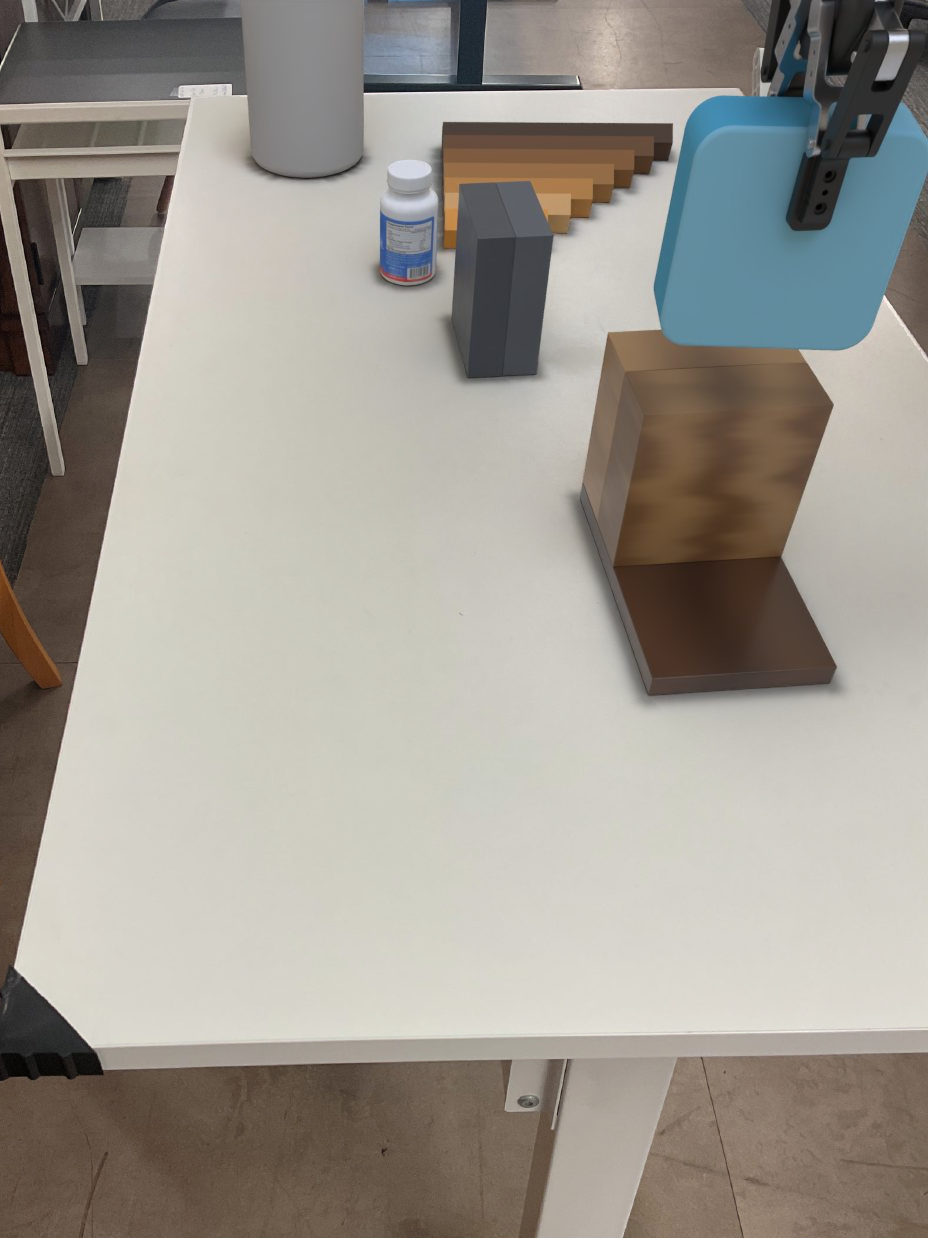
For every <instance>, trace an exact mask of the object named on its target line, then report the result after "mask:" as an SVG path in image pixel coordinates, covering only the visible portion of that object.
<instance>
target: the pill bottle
mask: <svg viewBox="0 0 928 1238" xmlns="http://www.w3.org/2000/svg"><path fill="white" fill-rule="evenodd" d="M432 171H433V169H432V166H431V165H430V164H429V163H427V162H425V161H424V160H423V161H422V160H418V159H401V160H396V161H394V162H392V163H391V164H389V165H388V167H387V173H386V174H387V175H386V183H387V187H388V188H386V189H385V190H384V191H383V193H382V194H381V196H380V198H379V199H380V200H379V270H380V274H381V276H382V277H383V278H384V279H385V280H386V281H388V282H390V283H393V284H395V285H399V286H416V285H420V284H424V283H427V282H429V281H430V280H431V279H432V278H433V277H434V276H435V274H436V271H437V254H438V253H437V252H438V251H437V250H438V228H439V226H438V225H439V197H438V194H437V193H436V191H435V190H434V189H432V188H431V187H432V183H433V181H432V179H433V178H432V176H433V172H432Z"/></svg>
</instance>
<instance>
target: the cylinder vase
mask: <svg viewBox="0 0 928 1238" xmlns="http://www.w3.org/2000/svg"><path fill="white" fill-rule="evenodd" d="M239 1H240V12H241V13H240V17H241V28H242V29H241V31H242V43H243V44H242V45H243V56H244V57H243V58H244V69H245V83H246V84H245V85H246V99H247V113H248V125H249V127H248V128H249V139H250V151H251V152H250V153H251V156H252V158H253V160H254V162H255V163H256V164H258V165H259V166H260V168H263V169H264V170H266V171H267V172H270V173H272V174H275V175H279V176H284V177H289V178H303V179H306V178H308V179H309V178H321V177H327V176H332V175H336V174H338V173H342V172H345V171H346V170H349V169H351V168H352V167H354V166H355V165H356V164H357V163H359V161H360V160H361V158H362V156H363V155H364V150H365V109H364V108H365V98H364V97H365V95H364V93H365V92H364V91H365V89H364V88H365V86H364V84H365V83H364V82H365V81H364V79H365V77H364V76H365V75H364V74H365V73H364V71H365V69H364V65H365V64H364V63H365V61H364V60H365V59H364V57H365V55H364V52H365V51H364V49H365V47H364V46H365V45H364V39H365V38H364V37H365V36H364V33H365V32H364V0H239Z"/></svg>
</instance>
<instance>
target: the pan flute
mask: <svg viewBox="0 0 928 1238" xmlns="http://www.w3.org/2000/svg"><path fill="white" fill-rule="evenodd" d="M673 144H674V123H673V122H537V121H536V122H535V121H533V122H532V121H531V122H530V121H527V122H524V121H523V122H521V121H519V122H517V121H442V127H441V147H440V148H441V149H440V150H441V151H440V153H441V186H442V187H441V188H442V190H441V195H442V232H443V236H442V238H443V239H442V241H443V243H442V244H443V249H456V234H457V217H458V200H459V184H467V183H490V182H514V181H531V184H532V186H533V188H534V191H535V193H536V195H537V198H538V200H539V202H540V205H541V207H542V210H543V212H544V214H545V217H546V219H547V221H548V224H549V226H550V228H551V231H552V233H553V234H568V231H569V227H570V221H571V218H590V215H591V210H592V206H593V205H592V204H593V203H611V200H612V194H613V189H615V188H619V189H621V188H626V189H628V188H629V189H630V188H631V185H632V182H633V176H634V174H636V175H637V174H638V175H639V174H640V175H641V174H642V175H643V174H644V175H646V174H647V175H650V173H651V170H652V166H653V162H654V161H669V159H670V154H671V152H672V151H671V150H672V148H673Z"/></svg>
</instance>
